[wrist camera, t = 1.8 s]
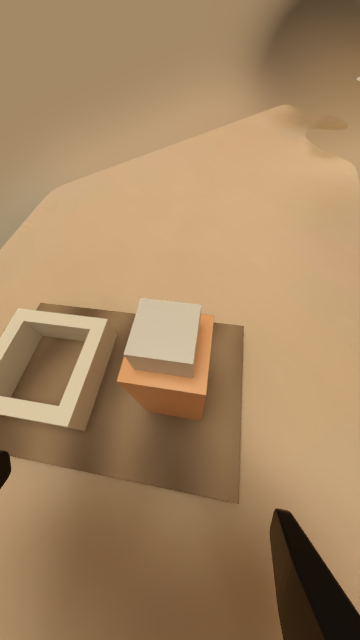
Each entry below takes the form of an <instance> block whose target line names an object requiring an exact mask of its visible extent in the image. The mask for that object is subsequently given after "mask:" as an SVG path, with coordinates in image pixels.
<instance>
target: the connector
mask: <svg viewBox="0 0 360 640" xmlns="http://www.w3.org/2000/svg"><path fill="white" fill-rule="evenodd" d="M213 323H214V316H212V315H203V314H201V304H192V303H183V302H173V301H163V300H154V299H144V298H141V299H140V302H139V305H138V309H137V312H136V315H135V318H134V322H133V325H132V328H131V332H130V335H129V338H128V341H127V345H126V348H125V351H124V358H123V362H122V365H121V368H120V372H119V375H118V378H117V382H118V383H119V384H120V385H121V386H122V387H123V388H124V389H125V390H126V391H127V392H128V393H129V394H130V395H131V396H132V397H133V398H134V399H135V400H136V401H137V402H138V403H139V404H140V405H141V406H142V407H143V408H144V409H146V410H147V411H148V412H152V413H158V414H164V415H169V416H175V417H181V418H187V419H193V420H199V421H201V418H202V413H203V408H204V403H205V398H206V390H207V381H208V371H209V361H210V352H211V342H212V332H213Z"/></svg>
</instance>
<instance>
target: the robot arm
mask: <svg viewBox="0 0 360 640" xmlns="http://www.w3.org/2000/svg"><path fill="white" fill-rule="evenodd" d="M10 473H11V463H10V456H9V453H8V452H7V451H4V450H0V489H1V487H2V486H3V484H4V483H5V482H6V480H7V479H8V477H9V475H10ZM270 542H271V551H272V560H273V569H274V578H275V587H276V596H277V604H278V612H279V618H280V623H281V629H282V634H283V639H284V640H360V615H359V613H358V612H357V610H356V609H355V607H354V606H353V604H352V603H351V601H350V600H349V598H348V597H347V595H346V594H345V592H344V591H343V589H342V588H341V586H340V585H339V583H338V582H337V580H336V579H335V577H334V576H333V574H332V573H331V572H330V570H329V569H328V567H327V566H326V564H325V563H324V561H323V560H322V558H321V557H320V555H319V554H318V552H317V551H316V549H315V548H314V546H313V545H312V543H311V542H310V540H309V539H308V537H307V536H306V534H305V533H304V531H303V530H302V528H301V527H300V525H299V524H298V522H297V521H296V519H295V518H294V516H293V515H292V514H291V513H290V512H289V511H287V510H283V509H278V508H276V509H275V511H274V514H273V518H272V522H271V526H270Z"/></svg>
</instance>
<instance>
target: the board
mask: <svg viewBox="0 0 360 640" xmlns="http://www.w3.org/2000/svg"><path fill="white" fill-rule="evenodd" d="M36 311H45V312H53V313H61V314H70V315H78V316H87V317H95V318H104V319H108V320H109V322H110V323H111V325H112V327H113V328H114V330H115V331H116V333H117V337H116V340H115V343H114V346H113V349H112V352H111V355H110V358H109V361H108V364H107V367H106V370H105V373H104V376H103V379H102V382H101V385H100V388H99V391H98V394H97V397H96V400H95V403H94V406H93V409H92V412H91V415H90V418H89V421H88V424H87V427H86V430H85V431H82V430H77V429H72V428H66V427H61V426H55V425H50V424H45V423H39V422H34V421H29V420H23V419H18V418H12V417H7V416H2V415H0V450H4V451H7V452H8V453H9V456H13V457H18V458H23V459H28V460H32V461H37V462H42V463H47V464H52V465H56V466H61V467H66V468H71V469H75V470H80V471H85V472H90V473H94V474H99V475H104V476H109V477H113V478H118V479H123V480H128V481H133V482H137V483H142V484H147V485H152V486H156V487H161V488H166V489H171V490H175V491H180V492H185V493H190V494H194V495H199V496H204V497H209V498H213V499H218V500H223V501H228V502H233V503H237V504H239V475H240V439H241V403H242V368H243V332H244V326H238V325H229V324H221V323H213V332H212V342H211V352H210V361H209V371H208V381H207V390H206V398H205V403H204V408H203V413H202V418H201V421H199V420H193V419H187V418H181V417H175V416H169V415H164V414H158V413H152V412H148V411H147V410H146V409H144V408H143V407H142V406H141V405H140V404H139V403H138V402H137V401H136V400H135V399H134V398H133V397H132V396H131V395H130V394H129V393H128V392H127V391H126V390H125V389H124V388H123V387H122V386H121V385H120V384H119V383H118V382H117V378H118V375H119V372H120V368H121V365H122V362H123V358H124V351H125V348H126V345H127V341H128V338H129V335H130V332H131V328H132V325H133V322H134V318H135V315H136V314H133V313H124V312H115V311H106V310H98V309H89V308H80V307H71V306H63V305H54V304H45V303H40V305H39V306H38V308H37V310H36ZM84 343H85V341H77V340H70V339H62V338H55V337H47V336H42V338H41V339H40V341H39V343H38V345H37V347H36V349H35V351H34V353H33V355H32V357H31V359H30V361H29V363H28V365H27V367H26V369H25V371H24V372H23V374H22V376H21V378H20V380H19V382H18V384H17V386H16V388H15V390H14V392H13V394H12V396H11V398H15V399H21V400H26V401H32V402H38V403H44V404H49V405H55V406H59V405H60V402H61V400H62V397H63V395H64V392H65V390H66V387H67V385H68V383H69V380H70V378H71V375H72V373H73V370H74V368H75V365H76V363H77V360H78V358H79V355H80V353H81V351H82V348H83V346H84Z"/></svg>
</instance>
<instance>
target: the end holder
mask: <svg viewBox="0 0 360 640" xmlns="http://www.w3.org/2000/svg"><path fill="white" fill-rule="evenodd" d="M42 336H47V337H55V338H62V339H70V340H77V341H85V343H84V346H83V348H82V351H81V353H80V355H79V358H78V360H77V363H76V365H75V368H74V370H73V373H72V375H71V378H70V380H69V383H68V385H67V387H66V390H65V392H64V395H63V397H62V400H61V402H60V405H59V406H55V405H49V404H44V403H38V402H32V401H26V400H21V399H15V398H11V396H12V394H13V392H14V390H15V388H16V386H17V384H18V382H19V380H20V378H21V376H22V374H23V372H24V371H25V369H26V367H27V365H28V363H29V361H30V359H31V357H32V355H33V353H34V351H35V349H36V347H37V345H38V343H39V341H40V339H41V338H42ZM116 337H117V333H116V331H115V330H114V328H113V327H112V325H111V323H110V322H109V320H108V319H104V318H95V317H87V316H78V315H70V314H61V313H53V312H45V311H36V310H28V309H19V308H18V310H17V311H16V313H15V315H14V316H13V318H12V320H11V321H10V323H9V324H8V326H7V328H6V329H5V331H4V333H3V334H2V336H1V337H0V415H2V416H7V417H12V418H18V419H23V420H29V421H34V422H39V423H45V424H50V425H55V426H61V427H66V428H72V429H77V430H82V431H85V430H86V427H87V424H88V421H89V418H90V415H91V412H92V409H93V406H94V403H95V400H96V397H97V394H98V391H99V388H100V385H101V382H102V379H103V376H104V373H105V370H106V367H107V364H108V361H109V358H110V355H111V352H112V349H113V346H114V343H115V340H116Z"/></svg>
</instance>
